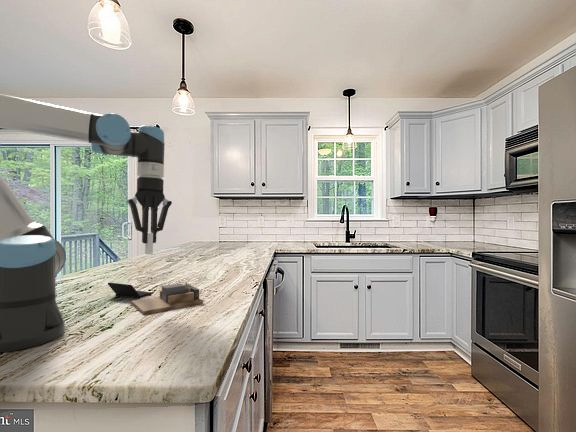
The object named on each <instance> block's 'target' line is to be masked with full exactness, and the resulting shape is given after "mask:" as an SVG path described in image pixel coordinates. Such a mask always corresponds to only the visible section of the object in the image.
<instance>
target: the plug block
mask: <svg viewBox="0 0 576 432" xmlns="http://www.w3.org/2000/svg"><path fill="white" fill-rule="evenodd" d="M161 291H162V300H163V301H164V302H166V303H167V302H168V296H170V295H176V294H182V293H185V284H183V283H175V284H166V285H161Z"/></svg>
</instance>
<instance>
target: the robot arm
mask: <svg viewBox="0 0 576 432" xmlns="http://www.w3.org/2000/svg"><path fill="white" fill-rule="evenodd" d="M0 129H4V130H8V131H9V130H10V131H14V132H15V131H17V132H23V133H27V134H34V135H40V136H47V137H52V138H56V139H57V138H58V139H65V140H69V141H76V142H82V143H87V144H88V143H89V144H91V151H92V152H93V153H95V154H102V155H105V156H107V155H109V156H117V157H118V156H119V157H120V156H121V157H131V158H136V159H137V173H136V175H137V177H138V178H137V179H136V192H135V194H134V197H131V198H129V199H127V200H126V203H127V204H128V206H129V208H130V212H131V215H132V219H133V224H134V227H135V230H136V231H138V232H141V242H142V244H144V245H145V247H144V253H145V255H153V251H154V249H153V247H154V244H156V242H157V233H158V232H161V231H163V230H164V225H165V223H166V219H167V216H168V213H169V208H170V207H171V205H172V204H173V201H172V200H168V199H167V198H166V196H165V194H164V182H165V181H164V179H163V178H164V174H165V173H164V171H165V170H164V169H165V168H164V167H165V144H166V143H165V132H164V130H163V129H161V128H160V127H157V126H154V125H140V126H139V127H138V129H137V131H132V130H131V127H130V124H129V122H128V121H127V119H126V118H125V117H123V115H120V114H118V113H115V112H114V113H113V112H112V113H111V112H108V113H104V114H98V113H93V112H87V111H84V110H78V109H75V108H69V107H65V106H60V105H55V104H51V103H47V102H46V103H45V102H40V101H36V100H32V99H27V98H22V97H17V96H13V95H7V94H4V93H3V94H2V93H0ZM137 202H138V203H139V205H140V206H141V211H142V212H141V219H140V215H139V209H138V206H137ZM161 204H162V208H161V211H160V215H159V218H158V211H159V207H160V205H161ZM149 210H150V215H149ZM149 216H150V232H149ZM66 260H67V254H66V250H65V247H64V246H63V244H62V243H60V242H59V241H58V240H57V239H55V238H54V237H53V236H52V234H51V233H50V231H49V230H48V229H47V227H46V225H45V224H44V223H43V224H41V223H37V222H35V221H33V219H32V218H31V216H30V214H28V212H27V211H26V209H25V208H24V206H23V205H22V204H21V202H20V201H19V199H18V198H17V197H16V195H15V194H14V192H13V191H12V189H11V188H10V187H9V185H8V184H7V183H6V181H5V180H4V179H3V177H2V175H0V353H4V352H6V353H7V352H12V351H13V352H14V351H19V350H24V349H29V348H33V347H37V346H40V345H43V344H45V343H49V342H52V341H53V340H56V339H57V338H60V337H61V336H62V335H64V333H65V332H66V331H65V328H66V327H65V326H66V325H65V320H64V318H63V316H62V313H61V311H60V308H59V306H58V304H57V301H56V300H57V299H56V276H57V275H58V274H59V273H60V272H61V271H62V269H63V268H64V266H65V263H66Z"/></svg>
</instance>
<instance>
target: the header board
mask: <svg viewBox="0 0 576 432" xmlns="http://www.w3.org/2000/svg"><path fill="white" fill-rule="evenodd" d="M184 285H185V293H182V294H176V295H170V296H168V302H167V303H166V302H164V301H163V300H162V290H160V291H159V296H153V297H148V298H147V297H146V298H139V299H134V300H131V305H132V306H133V307H134V308H135V309H136V310H137V311H139V312H140V313H141V314H142V315H143V316H144V315H151V314H155V313H160V312H167V311H171V310H176V309H181V308H187V307H192V306H197V305H202V304H204V300H203V299H201V298H200V288H197V287H195V286H193V285H192V284H189V283H187V282H185V283H184Z"/></svg>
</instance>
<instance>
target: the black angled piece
mask: <svg viewBox="0 0 576 432" xmlns="http://www.w3.org/2000/svg"><path fill="white" fill-rule="evenodd" d="M107 284H108V286H109V287H110V289H111V290H112V292H114V294H115V296H116V297H124V298H131V299H132V298H133V299H137V300H140V299H143V298H145V297H148V295H149V296H152V295H151V294H153V293H152V292H150V291H142V290H136V289H135V287H134V286H133V285H132V284H126V283H117V282H107Z"/></svg>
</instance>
